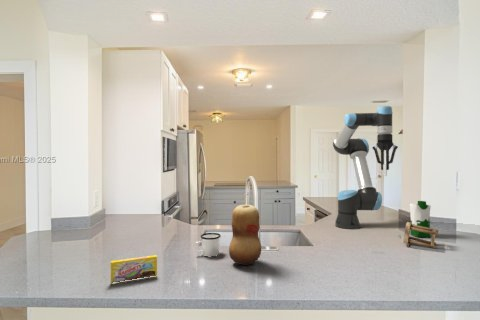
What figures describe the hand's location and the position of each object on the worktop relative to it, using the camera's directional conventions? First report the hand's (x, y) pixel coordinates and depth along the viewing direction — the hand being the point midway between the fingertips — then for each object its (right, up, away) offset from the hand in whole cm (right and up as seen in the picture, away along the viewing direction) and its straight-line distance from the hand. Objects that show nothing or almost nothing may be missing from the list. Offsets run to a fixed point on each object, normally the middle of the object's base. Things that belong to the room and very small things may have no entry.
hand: (385, 175), depth 159 cm
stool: (+4, -29, -12) cm, 31 cm away
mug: (-97, -36, -27) cm, 107 cm away
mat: (+12, -34, -17) cm, 40 cm away
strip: (+6, -34, -13) cm, 37 cm away
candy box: (-121, -36, -54) cm, 137 cm away
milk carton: (+20, -34, +1) cm, 40 cm away
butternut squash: (-79, -36, -39) cm, 95 cm away
